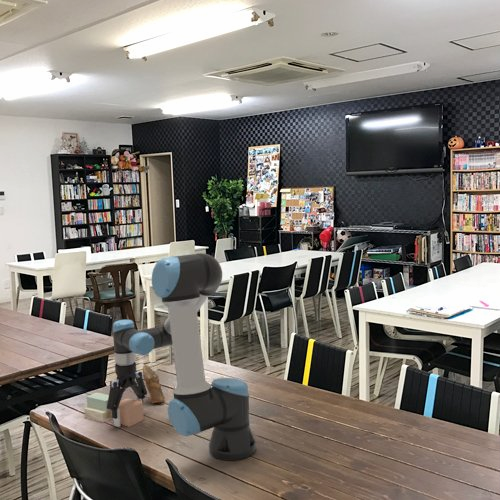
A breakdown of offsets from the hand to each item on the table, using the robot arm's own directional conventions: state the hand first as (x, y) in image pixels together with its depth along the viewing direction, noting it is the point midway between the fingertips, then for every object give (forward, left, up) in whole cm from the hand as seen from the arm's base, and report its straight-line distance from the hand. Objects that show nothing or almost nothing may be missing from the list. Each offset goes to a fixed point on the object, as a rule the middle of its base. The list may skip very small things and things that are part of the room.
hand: (128, 420), depth 212 cm
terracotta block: (0, 0, 0) cm, 0 cm away
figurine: (+14, -14, 0) cm, 20 cm away
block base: (+10, +8, -1) cm, 12 cm away
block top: (+10, +8, +3) cm, 13 cm away
